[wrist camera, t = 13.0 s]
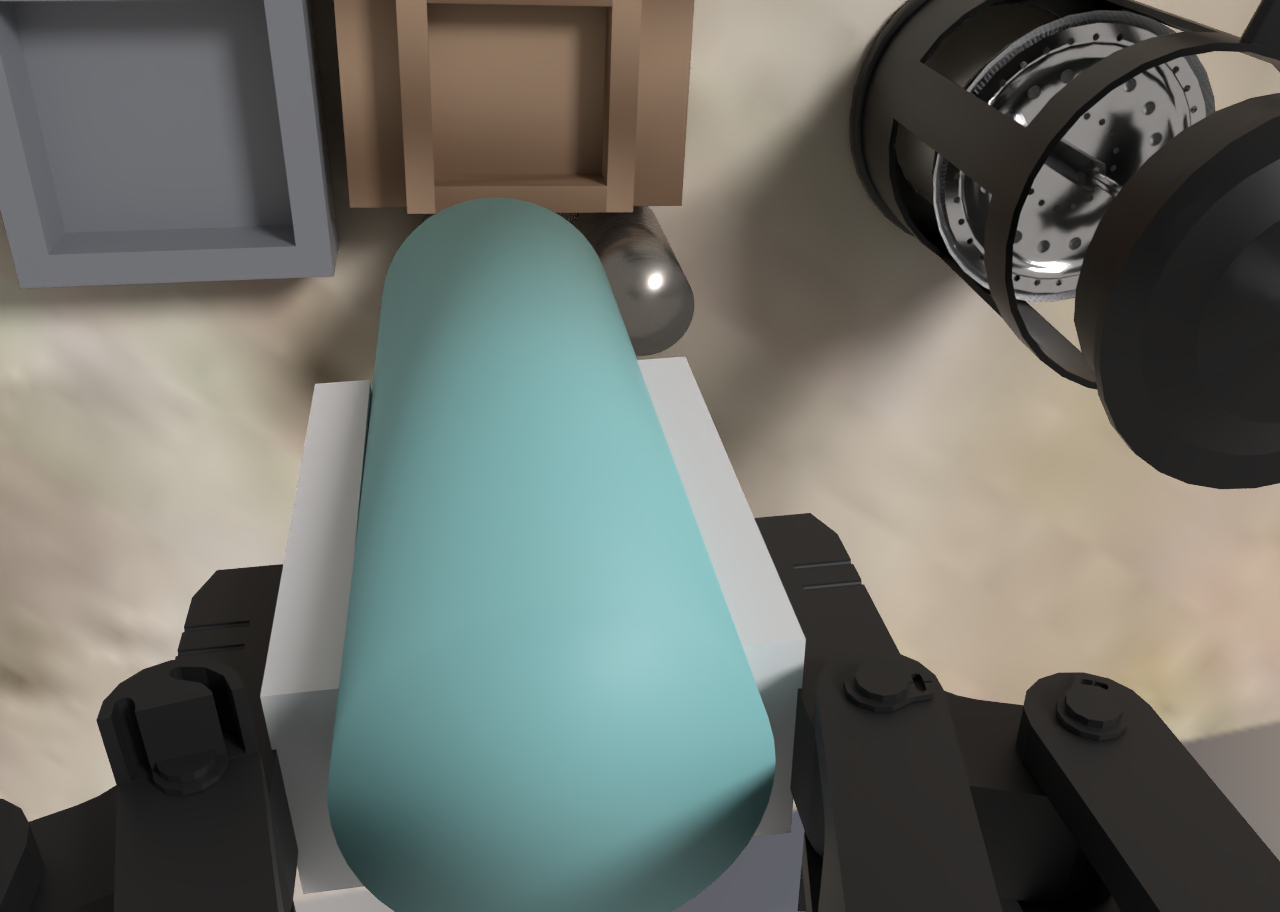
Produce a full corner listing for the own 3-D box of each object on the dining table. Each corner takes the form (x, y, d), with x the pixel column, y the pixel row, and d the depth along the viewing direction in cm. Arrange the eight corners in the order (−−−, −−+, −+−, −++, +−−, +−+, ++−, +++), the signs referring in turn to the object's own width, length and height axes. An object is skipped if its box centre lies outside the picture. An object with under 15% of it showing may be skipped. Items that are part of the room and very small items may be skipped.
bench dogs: (414, 200, 38) (412, 268, 33) (661, 192, 40) (696, 257, 34) (420, 288, 40) (420, 366, 35) (658, 278, 41) (691, 353, 36)
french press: (1026, 292, 44) (1519, 734, 24) (795, 217, 41) (1138, 648, 21) (1203, -37, 39) (2010, 181, 19) (953, -149, 36) (1597, -29, 16)
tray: (-32, -53, 33) (-64, -40, 31) (305, -53, 34) (297, -41, 32) (43, 258, 38) (20, 288, 35) (338, 247, 39) (333, 276, 37)
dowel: (380, 193, 20) (317, 611, 10) (618, 202, 21) (805, 602, 10) (383, 410, 22) (335, 961, 11) (602, 412, 23) (747, 934, 12)
